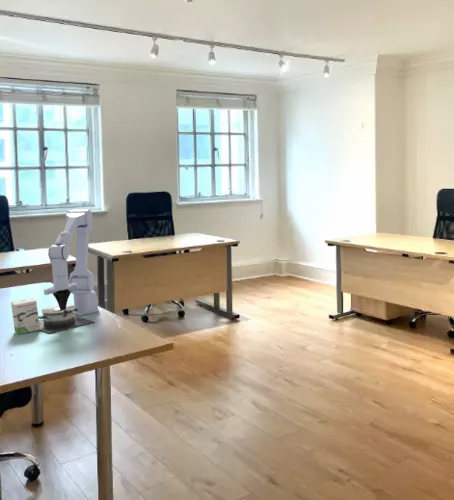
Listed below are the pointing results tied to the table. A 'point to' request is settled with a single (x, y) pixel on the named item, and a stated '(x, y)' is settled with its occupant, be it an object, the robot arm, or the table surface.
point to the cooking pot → (61, 322)
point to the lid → (58, 310)
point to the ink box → (25, 316)
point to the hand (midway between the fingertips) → (62, 309)
